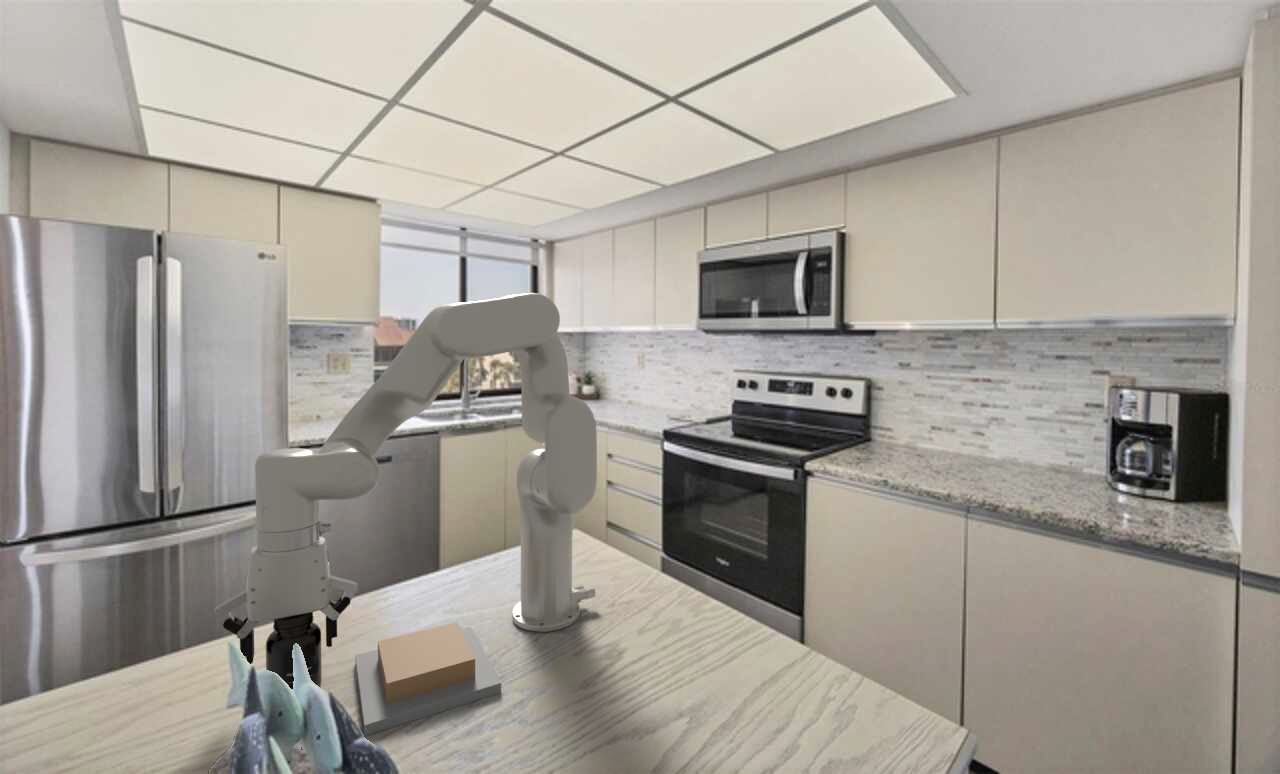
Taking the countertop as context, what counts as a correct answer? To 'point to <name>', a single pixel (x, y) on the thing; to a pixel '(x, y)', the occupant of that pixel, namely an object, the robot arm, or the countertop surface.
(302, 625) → the supplement bottle
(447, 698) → the pedestal
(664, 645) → the countertop surface
